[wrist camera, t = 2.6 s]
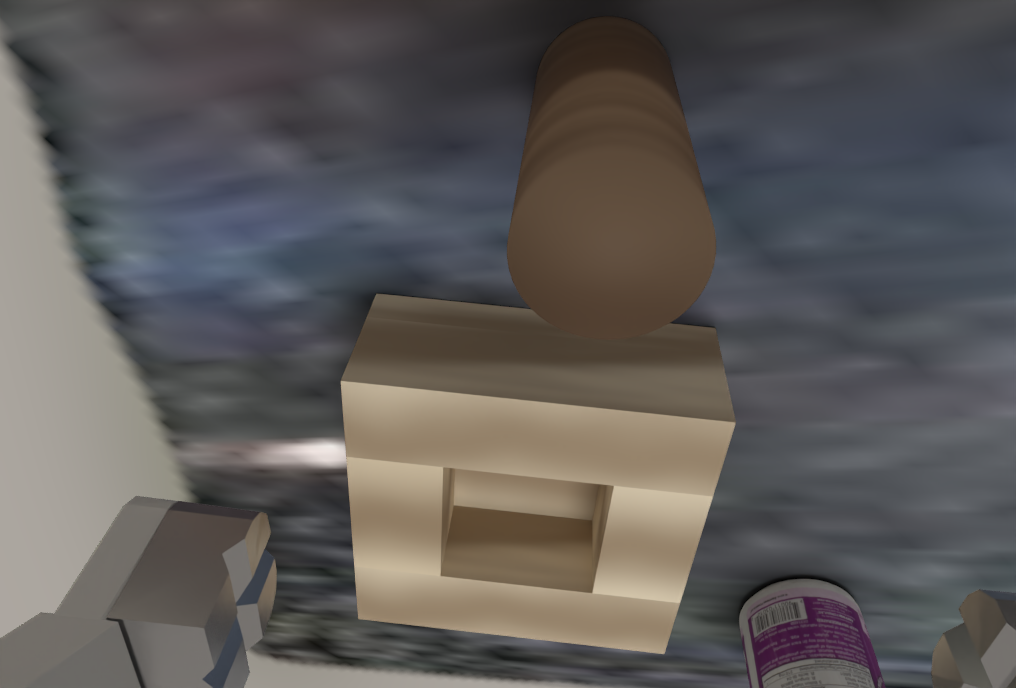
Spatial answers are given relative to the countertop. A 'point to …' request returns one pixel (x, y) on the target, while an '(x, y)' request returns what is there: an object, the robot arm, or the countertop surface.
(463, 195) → the countertop surface
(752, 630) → the pill bottle
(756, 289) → the countertop surface
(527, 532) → the socket block
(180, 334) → the countertop surface
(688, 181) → the peg
